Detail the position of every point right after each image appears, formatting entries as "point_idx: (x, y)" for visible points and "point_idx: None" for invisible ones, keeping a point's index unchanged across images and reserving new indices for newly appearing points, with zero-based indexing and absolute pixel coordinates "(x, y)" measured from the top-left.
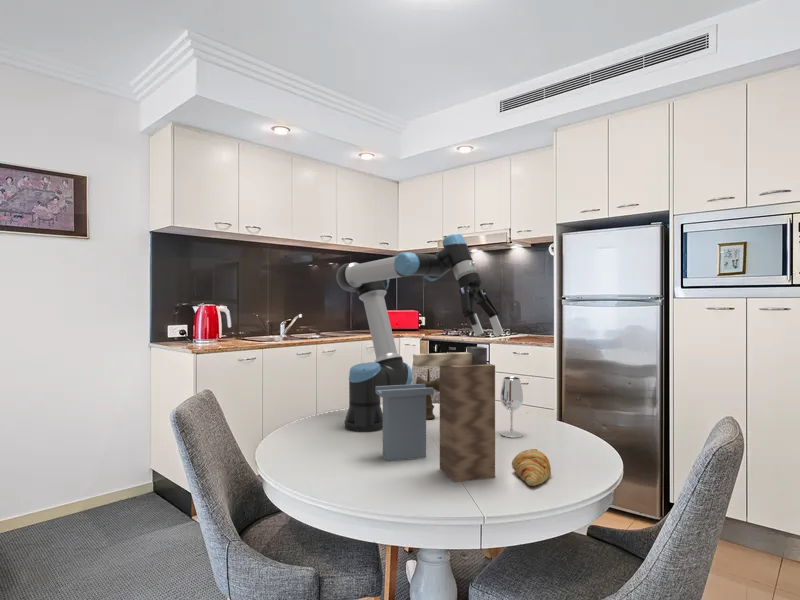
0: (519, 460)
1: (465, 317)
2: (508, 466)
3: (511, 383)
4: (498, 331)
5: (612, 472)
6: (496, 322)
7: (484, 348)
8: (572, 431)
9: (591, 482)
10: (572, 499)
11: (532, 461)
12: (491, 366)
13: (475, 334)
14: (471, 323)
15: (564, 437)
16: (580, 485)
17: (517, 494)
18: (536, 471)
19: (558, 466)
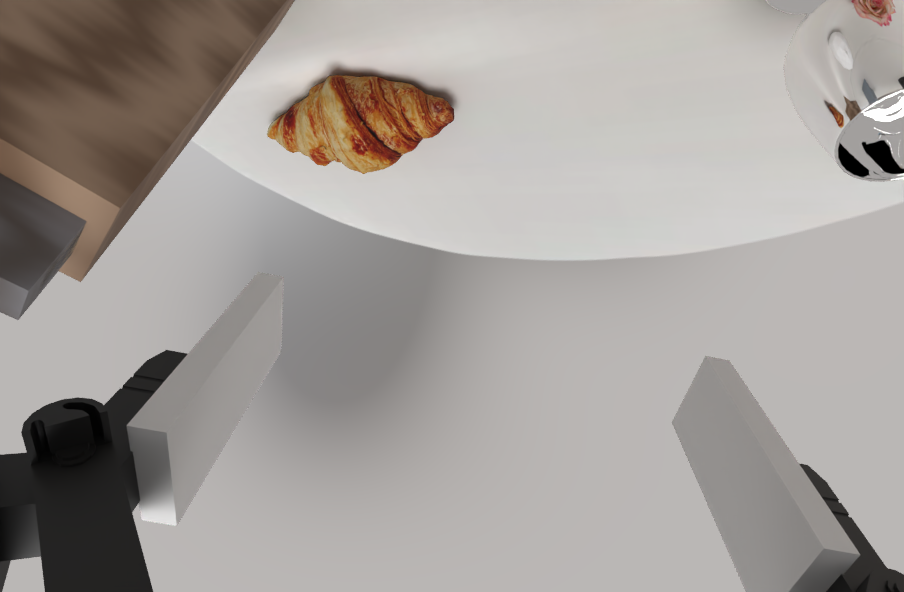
0: (320, 110)
1: (75, 399)
2: (382, 43)
3: (822, 127)
4: (700, 418)
5: (479, 250)
6: (729, 517)
7: (3, 311)
8: None
9: (394, 218)
10: (286, 191)
11: (309, 148)
12: (64, 269)
13: (253, 285)
14: (148, 367)
15: (793, 160)
16: (364, 202)
17: (224, 102)
18: (296, 148)
19: (460, 161)
